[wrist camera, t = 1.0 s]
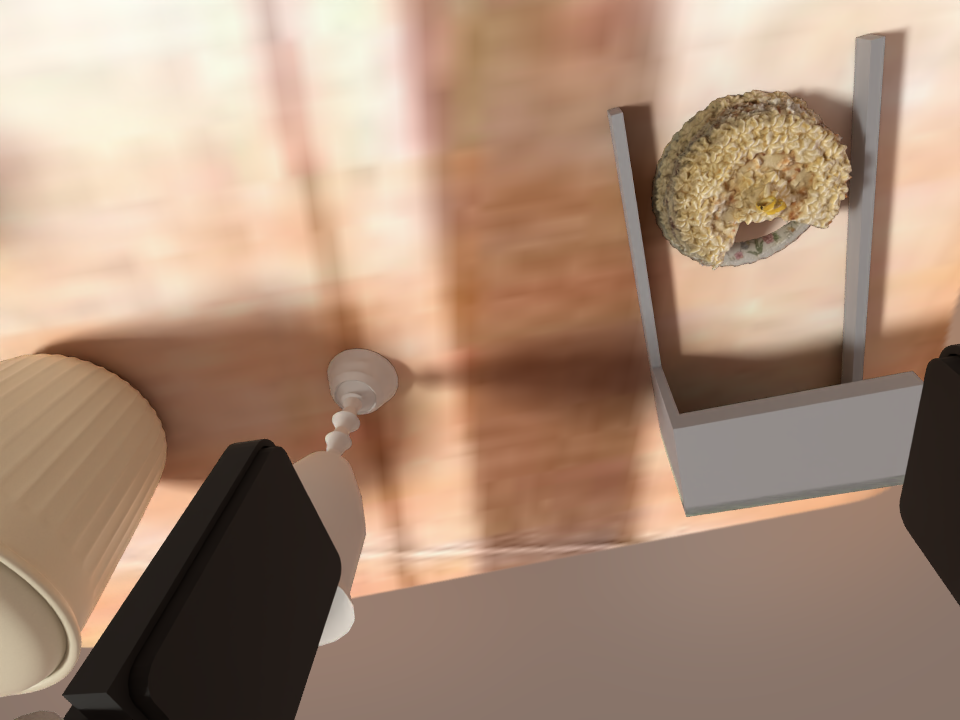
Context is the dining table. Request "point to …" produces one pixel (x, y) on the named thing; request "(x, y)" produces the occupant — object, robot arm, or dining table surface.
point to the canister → (65, 504)
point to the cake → (748, 177)
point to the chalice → (345, 470)
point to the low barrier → (802, 415)
